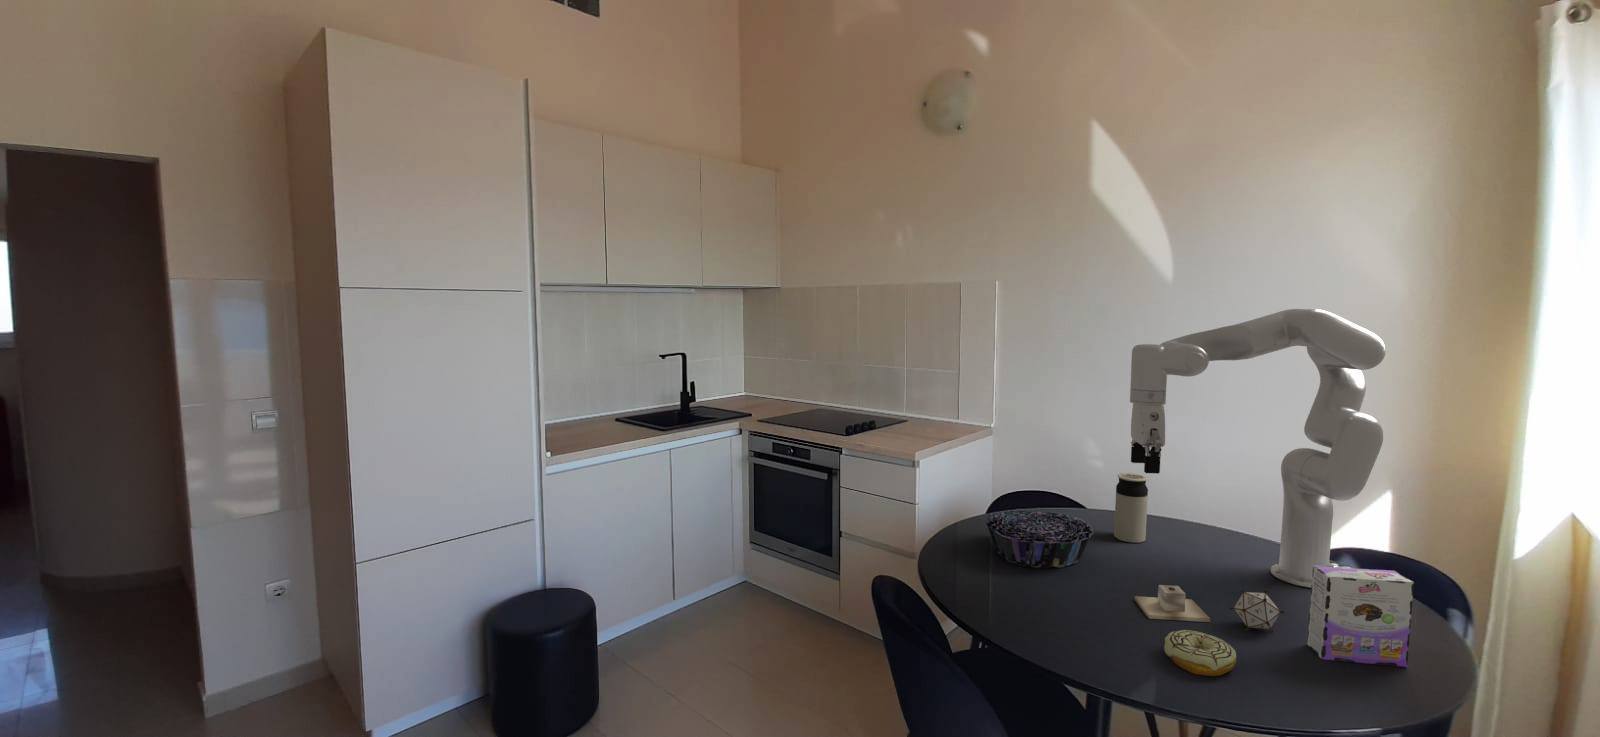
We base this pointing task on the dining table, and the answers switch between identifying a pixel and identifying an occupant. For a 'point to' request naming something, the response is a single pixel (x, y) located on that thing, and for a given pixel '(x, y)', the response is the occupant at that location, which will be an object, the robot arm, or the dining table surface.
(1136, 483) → the travel mug
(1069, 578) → the dining table surface
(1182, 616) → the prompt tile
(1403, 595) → the candy box
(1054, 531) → the decorative bowl
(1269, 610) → the game die
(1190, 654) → the decorated donut
